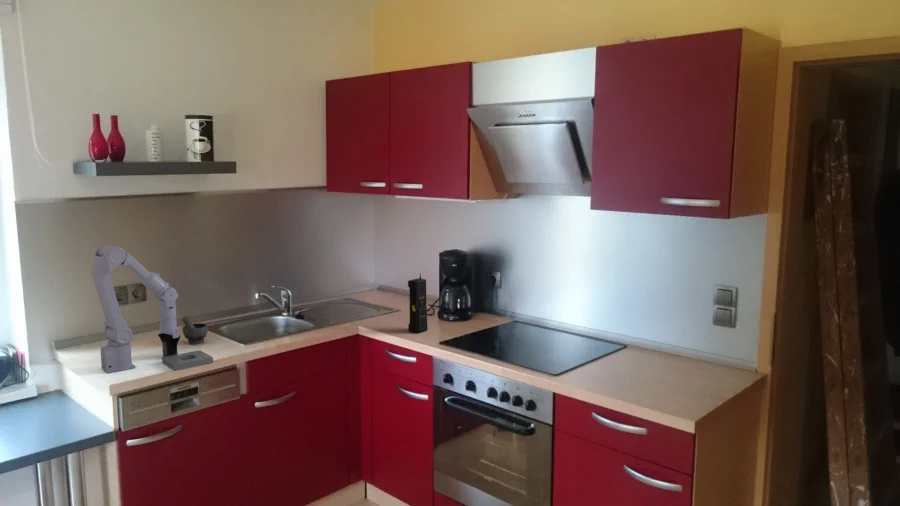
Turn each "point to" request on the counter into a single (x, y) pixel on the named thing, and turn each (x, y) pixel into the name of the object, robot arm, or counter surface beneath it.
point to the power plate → (187, 360)
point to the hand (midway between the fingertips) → (170, 352)
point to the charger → (165, 349)
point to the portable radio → (417, 305)
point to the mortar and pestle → (194, 331)
